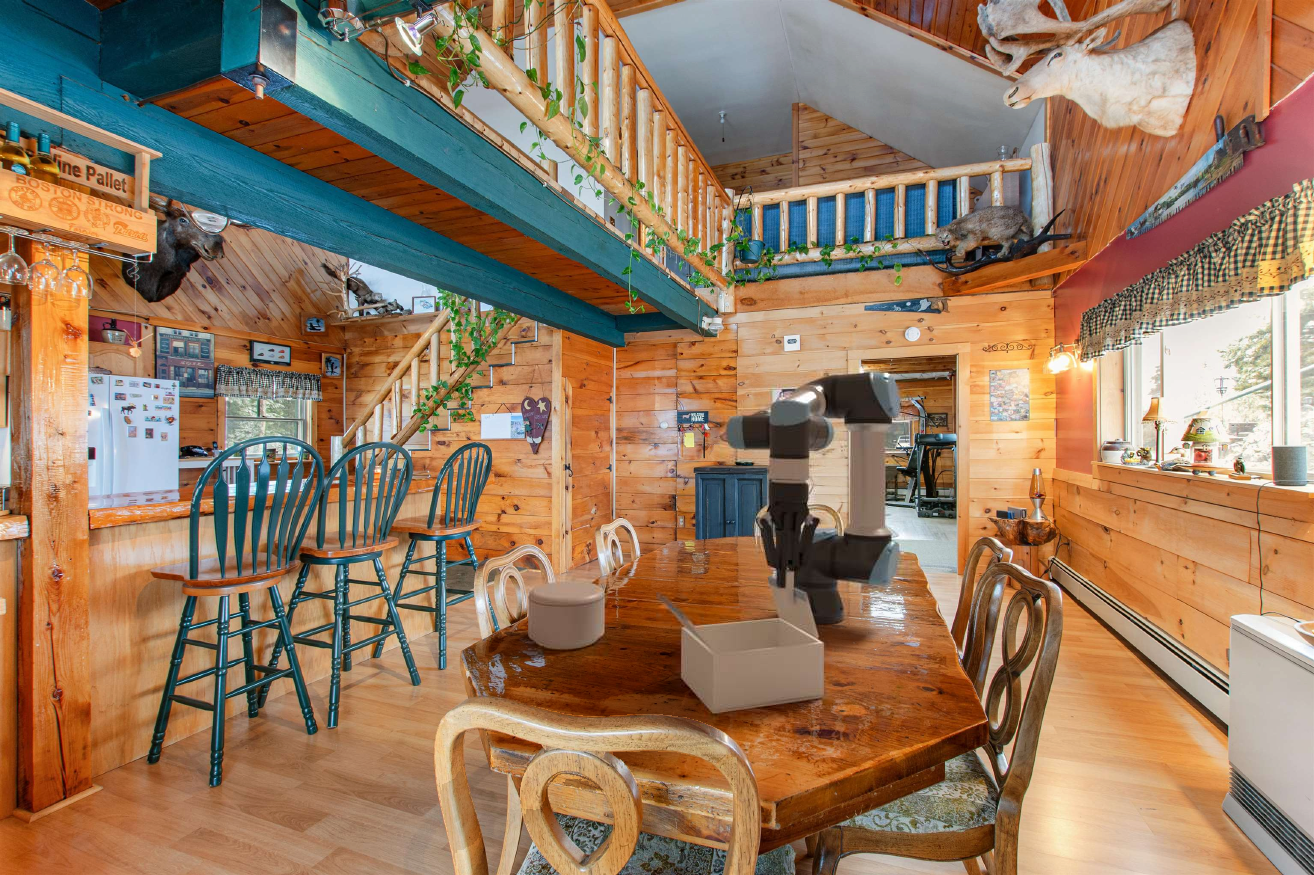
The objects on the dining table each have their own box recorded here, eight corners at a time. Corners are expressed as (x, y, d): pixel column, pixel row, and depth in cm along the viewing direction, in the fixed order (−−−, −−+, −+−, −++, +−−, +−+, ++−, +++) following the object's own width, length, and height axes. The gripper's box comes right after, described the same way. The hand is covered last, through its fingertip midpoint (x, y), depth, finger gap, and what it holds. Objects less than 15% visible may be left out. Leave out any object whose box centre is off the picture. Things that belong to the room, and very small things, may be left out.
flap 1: (658, 593, 114) (656, 595, 114) (683, 613, 101) (681, 615, 101) (686, 624, 116) (684, 626, 116) (714, 648, 103) (712, 650, 103)
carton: (779, 665, 124) (780, 617, 124) (823, 697, 108) (823, 643, 108) (681, 677, 117) (681, 627, 117) (712, 713, 102) (713, 655, 102)
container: (553, 658, 127) (554, 603, 127) (514, 636, 141) (514, 587, 141) (619, 639, 139) (620, 590, 139) (577, 621, 153) (577, 576, 153)
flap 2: (778, 616, 122) (780, 615, 123) (816, 638, 109) (818, 637, 109) (767, 577, 122) (769, 576, 122) (804, 593, 108) (806, 592, 108)
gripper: (807, 480, 119) (805, 597, 118) (749, 479, 115) (746, 601, 115) (829, 482, 112) (827, 607, 111) (767, 482, 108) (765, 612, 107)
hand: (786, 604), depth 113 cm, fingers closed
